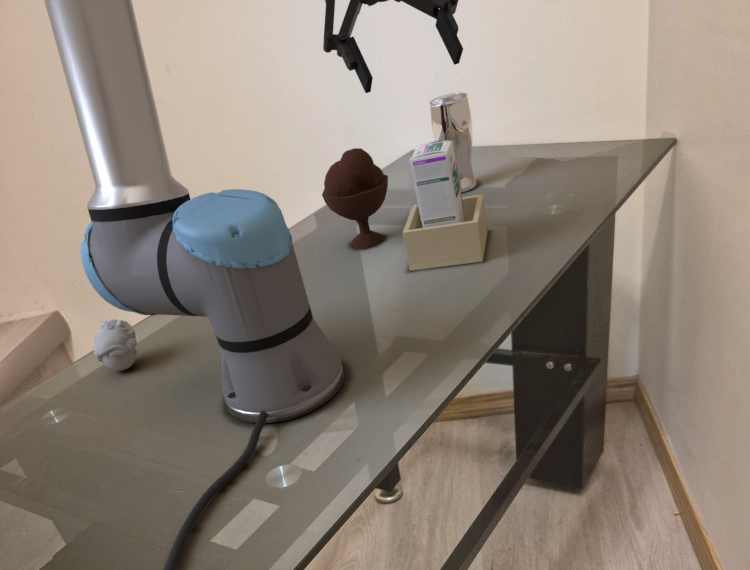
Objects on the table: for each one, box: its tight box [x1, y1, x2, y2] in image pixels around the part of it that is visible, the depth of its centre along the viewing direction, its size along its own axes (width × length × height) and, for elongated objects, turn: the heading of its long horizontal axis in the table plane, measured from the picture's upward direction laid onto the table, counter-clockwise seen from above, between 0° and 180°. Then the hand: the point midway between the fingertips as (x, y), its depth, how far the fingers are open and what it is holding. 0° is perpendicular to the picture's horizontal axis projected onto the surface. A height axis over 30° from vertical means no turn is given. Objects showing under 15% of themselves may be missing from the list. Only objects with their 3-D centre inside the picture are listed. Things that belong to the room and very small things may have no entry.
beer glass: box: [429, 92, 478, 194], centre depth 131 cm, size 7×7×15 cm
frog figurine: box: [93, 318, 138, 372], centre depth 105 cm, size 6×7×7 cm
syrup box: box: [409, 139, 465, 228], centre depth 109 cm, size 6×6×14 cm
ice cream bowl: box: [321, 147, 389, 250], centre depth 120 cm, size 11×11×15 cm
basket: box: [402, 193, 488, 272], centre depth 113 cm, size 11×11×6 cm
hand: (414, 71), depth 101 cm, fingers open, 13 cm apart
